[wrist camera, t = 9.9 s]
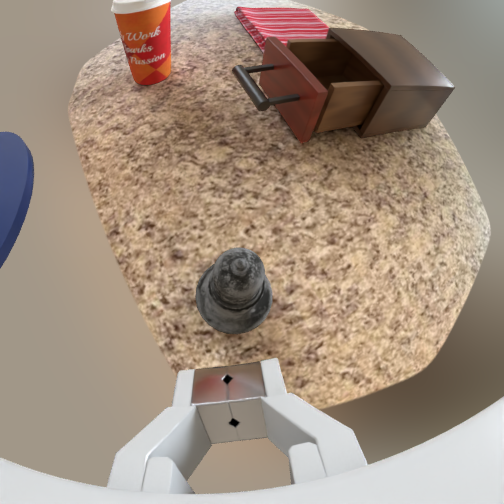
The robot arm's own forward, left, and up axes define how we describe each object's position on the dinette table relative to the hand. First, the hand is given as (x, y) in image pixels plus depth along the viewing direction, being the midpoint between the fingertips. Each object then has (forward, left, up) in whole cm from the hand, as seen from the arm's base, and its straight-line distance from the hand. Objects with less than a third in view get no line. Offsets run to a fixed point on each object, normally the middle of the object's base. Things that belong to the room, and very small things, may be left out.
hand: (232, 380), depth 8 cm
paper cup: (+4, +39, -17) cm, 42 cm away
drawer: (+20, +24, -16) cm, 35 cm away
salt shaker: (+3, +5, -17) cm, 17 cm away
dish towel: (+30, +43, -17) cm, 55 cm away
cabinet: (+33, +24, -16) cm, 43 cm away
